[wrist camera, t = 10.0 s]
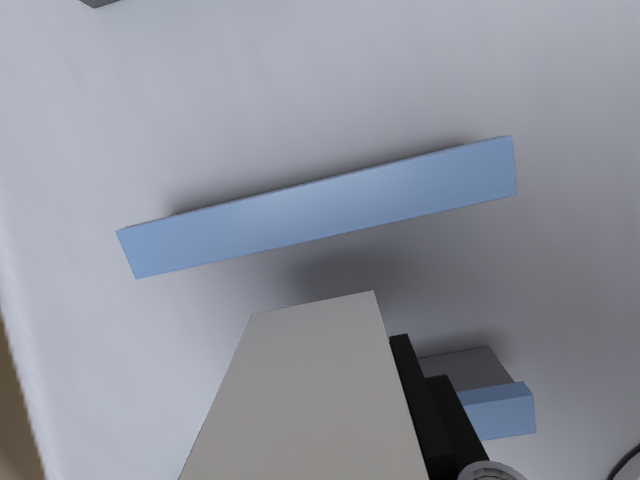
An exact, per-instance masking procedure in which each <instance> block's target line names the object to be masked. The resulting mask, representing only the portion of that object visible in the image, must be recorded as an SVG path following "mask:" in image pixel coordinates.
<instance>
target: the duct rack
mask: <svg viewBox="0 0 640 480" xmlns="http://www.w3.org/2000/svg"><path fill="white" fill-rule="evenodd" d="M80 1H81V2H83V3H85V4H87V5H89V6H90V7H92V8H96V7H99V6H102V5H106V4H109V3H112V2H115V1H118V0H80ZM513 195H517V192H516V180H515V168H514V156H513V144H512V135H510V136H498V137H494V138H489V139H485V140H481V141H477V142H473V143H469V144H462V145H458V146H454V147H450V148H446V149H442V150H438V151H434V152H429V153H425V154H421V155H417V156H413V157H409V158H405V159H401V160H397V161H392V162H388V163H384V164H380V165H376V166H372V167H368V168H364V169H360V170H355V171H351V172H347V173H343V174H339V175H335V176H331V177H327V178H323V179H318V180H314V181H310V182H306V183H302V184H298V185H294V186H290V187H285V188H281V189H277V190H273V191H269V192H265V193H261V194H257V195H253V196H248V197H244V198H240V199H236V200H232V201H228V202H224V203H220V204H216V205H211V206H207V207H203V208H199V209H195V210H191V211H187V212H183V213H178V214H174V215H171V216H168V217H164V218H160V219H156V220H152V221H148V222H144V223H139V224H135V225H131V226H128V227H125V228H123V229H120V230H118V231H115V232H116V234H117V236H118V239H119V241H120V243H121V246H122V248H123V250H124V253H125V255H126V257H127V260H128V262H129V265H130V267H131V269H132V272H133V274H134V276H135V279H140V278H145V277H149V276H154V275H158V274H163V273H167V272H172V271H176V270H181V269H185V268H190V267H194V266H199V265H203V264H208V263H212V262H217V261H221V260H226V259H230V258H235V257H239V256H244V255H248V254H253V253H257V252H262V251H266V250H270V249H275V248H279V247H284V246H288V245H293V244H297V243H302V242H306V241H311V240H315V239H320V238H324V237H329V236H333V235H338V234H342V233H347V232H351V231H356V230H360V229H365V228H369V227H374V226H378V225H383V224H387V223H392V222H396V221H401V220H405V219H409V218H414V217H418V216H423V215H427V214H432V213H436V212H441V211H445V210H450V209H454V208H459V207H463V206H468V205H472V204H477V203H481V202H486V201H490V200H495V199H499V198H504V197H508V196H513ZM417 360H418V362H419V365H420V367H421V370H422V372H423V375H424V377H425V378H426V377H432V376H437V375H443V374H446V375H447V376H448V378H449V380H450V381H451V383H452V385H453V387H454V389H455V392H456V394H457V396H458V398H459V400H460V402H461V404H462V406H463V408H464V410H465V412H466V414H467V416H468V418H469V420H470V422H471V424H472V426H473V428H474V430H475V432H476V434H477V436H478V438H479V440H480V441H484V440H490V439H497V438H504V437H511V436H518V435H524V434H531V433H536V423H535V411H534V399H533V394H532V393H531V391H530V390H529V389H528V388H527V386H526V385H525V384H524V383H523V381H522V382H516V383H515V382H514V381H513V379H512V378H511V377H510V375H509V374H508V373H507V371H506V370H505V369H504V367H503V366H502V365H501V363H500V362H499V361H498V359H497V358H496V357H495V355H494V354H493V353H492V351H491V350H490V349H489V347H488V346H487V347H482V348H476V349H470V350H465V351H459V352H454V353H448V354H442V355H437V356H431V357H425V358H420V359H417Z"/></svg>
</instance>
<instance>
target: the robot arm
mask: <svg viewBox="0 0 640 480" xmlns="http://www.w3.org/2000/svg"><path fill="white" fill-rule="evenodd" d="M389 339H390V342H389V344H390V348H391V351H392V354H393V358H394V361H395V365H396V368H397V372H398V375H399V378H400V382H401V385H402V389H403V392H404V395H405V399H406V402H407V406H408V409H409V413H410V416H411V419H412V423H413V426H414V430H415V433H416V436H417V440H418V443H419V447H420V450H421V454H422V457H423V460H424V464H425V467H426V471H427V474H428V477H429V480H527V479H526V478H525V477H524V476H523V475H522V474H520V473H519V472H517V471H516V470H514V469H513V468H511V467H509V466H507V465H504V464H502V463H499V462H493V461H490V460H489V458H488V456H487V454H486V452H485V450H484V448H483V446H482V444H481V442H480V440H479V438H478V436H477V434H476V432H475V430H474V428H473V426H472V424H471V422H470V420H469V418H468V416H467V414H466V412H465V410H464V408H463V406H462V404H461V402H460V400H459V398H458V396H457V394H456V392H455V389H454V387H453V385H452V383H451V381H450V380H449V378H448V376H447V375H446V374H443V375H437V376H432V377H426V378H425V377H424V375H423V372H422V370H421V367H420V365H419V362H418V360H417V357H416V355H415V352H414V350H413V347H412V344H411V342H410V339H409V337H408V335H407V333H406V334H401V335H396V336H391V337H389ZM203 424H204V423H203ZM202 426H203V425H202ZM201 428H202V427H201ZM199 433H200V432H199ZM198 435H199V434H198ZM197 437H198V436H197ZM195 442H196V441H195ZM194 444H195V443H194ZM193 446H194V445H193ZM192 448H193V447H192ZM191 451H192V450H191ZM190 453H191V452H190ZM189 455H190V454H189ZM188 457H189V456H188ZM187 460H188V459H187ZM186 462H187V461H186ZM185 464H186V463H185ZM184 466H185V465H184ZM183 469H184V468H183ZM182 471H183V470H182ZM181 473H182V472H181ZM180 475H181V474H180ZM179 478H180V477H179ZM178 480H179V479H178ZM613 480H640V451H639V452H638V453H637V454H636V455H635V456H633V457H632V458H631V459H630V460H628V461H627V463H626V464H625V465H624V466H623V467H622V468H621V469H620V470H619V471H618V473H617V474H616V475H615V477H614V478H613Z"/></svg>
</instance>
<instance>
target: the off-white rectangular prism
mask: <svg viewBox="0 0 640 480" xmlns="http://www.w3.org/2000/svg"><path fill="white" fill-rule="evenodd" d="M179 480H429V477H428V474H427V471H426V467H425V464H424V460H423V457H422V454H421V450H420V447H419V443H418V440H417V436H416V433H415V430H414V426H413V423H412V419H411V416H410V413H409V409H408V406H407V402H406V399H405V395H404V392H403V389H402V385H401V382H400V378H399V375H398V372H397V368H396V365H395V361H394V358H393V354H392V351H391V348H390V344H389V341H388V337H387V334H386V331H385V327H384V324H383V320H382V317H381V314H380V310H379V307H378V303H377V300H376V296H375V293H374V290H371V291H366V292H361V293H356V294H351V295H346V296H341V297H336V298H331V299H326V300H321V301H316V302H311V303H306V304H301V305H296V306H291V307H286V308H281V309H276V310H271V311H266V312H261V313H256V314H252V316H251V318H250V320H249V322H248V325H247V327H246V329H245V331H244V334H243V336H242V338H241V340H240V343H239V345H238V347H237V349H236V352H235V354H234V356H233V358H232V361H231V363H230V365H229V367H228V370H227V372H226V374H225V376H224V379H223V381H222V383H221V385H220V388H219V390H218V392H217V394H216V397H215V399H214V401H213V403H212V406H211V408H210V410H209V412H208V415H207V417H206V419H205V421H204V424H203V426H202V428H201V430H200V433H199V435H198V437H197V439H196V442H195V444H194V446H193V448H192V451H191V453H190V455H189V457H188V460H187V462H186V464H185V466H184V469H183V471H182V473H181V475H180V478H179Z"/></svg>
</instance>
